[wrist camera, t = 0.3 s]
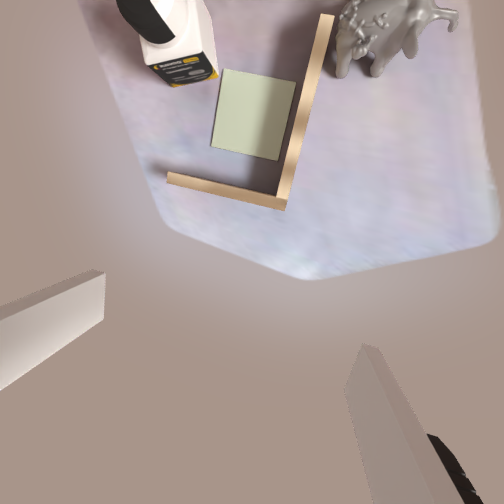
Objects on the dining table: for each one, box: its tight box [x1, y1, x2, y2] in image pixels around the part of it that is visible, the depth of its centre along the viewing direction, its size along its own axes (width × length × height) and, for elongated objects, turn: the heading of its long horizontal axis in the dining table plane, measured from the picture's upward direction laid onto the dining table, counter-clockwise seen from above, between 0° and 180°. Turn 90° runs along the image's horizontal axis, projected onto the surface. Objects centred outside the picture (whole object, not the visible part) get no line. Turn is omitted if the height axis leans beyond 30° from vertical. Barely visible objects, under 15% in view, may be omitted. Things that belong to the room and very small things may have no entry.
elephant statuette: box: [335, 0, 459, 79], centre depth 27 cm, size 9×12×8 cm
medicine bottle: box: [116, 0, 219, 87], centre depth 28 cm, size 7×7×12 cm
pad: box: [211, 69, 296, 161], centre depth 34 cm, size 10×10×1 cm
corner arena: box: [167, 14, 335, 211], centre depth 32 cm, size 21×16×5 cm
